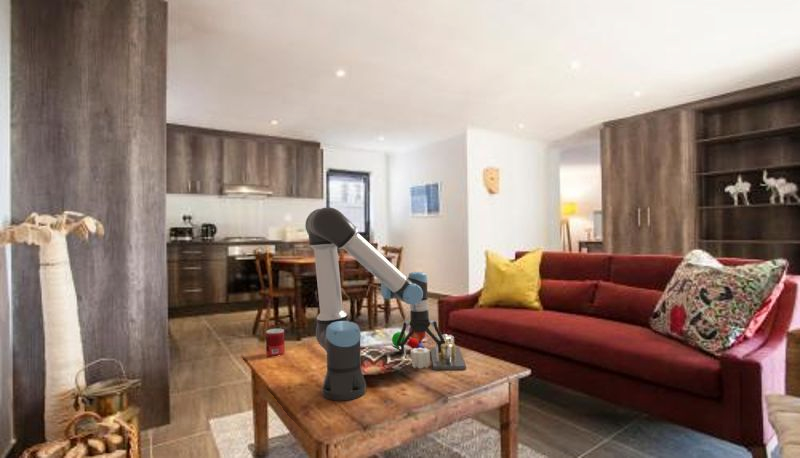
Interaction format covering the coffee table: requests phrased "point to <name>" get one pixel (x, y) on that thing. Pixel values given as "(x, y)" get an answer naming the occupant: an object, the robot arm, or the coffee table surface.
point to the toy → (411, 342)
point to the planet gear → (420, 357)
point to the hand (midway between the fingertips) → (421, 361)
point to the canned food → (275, 342)
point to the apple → (418, 335)
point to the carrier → (448, 355)
